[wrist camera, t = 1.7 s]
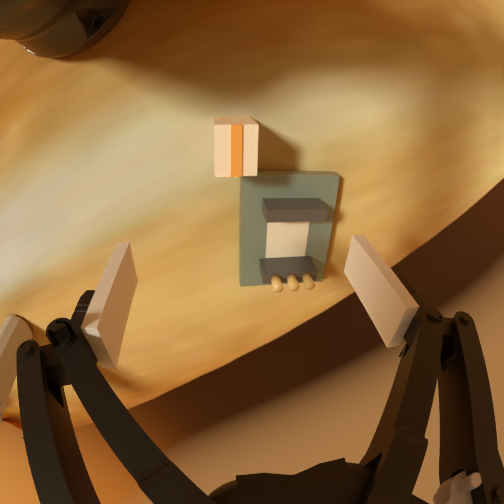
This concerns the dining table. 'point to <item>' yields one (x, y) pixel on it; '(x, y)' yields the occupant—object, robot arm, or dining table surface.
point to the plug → (235, 146)
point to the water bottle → (10, 353)
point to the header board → (286, 227)
